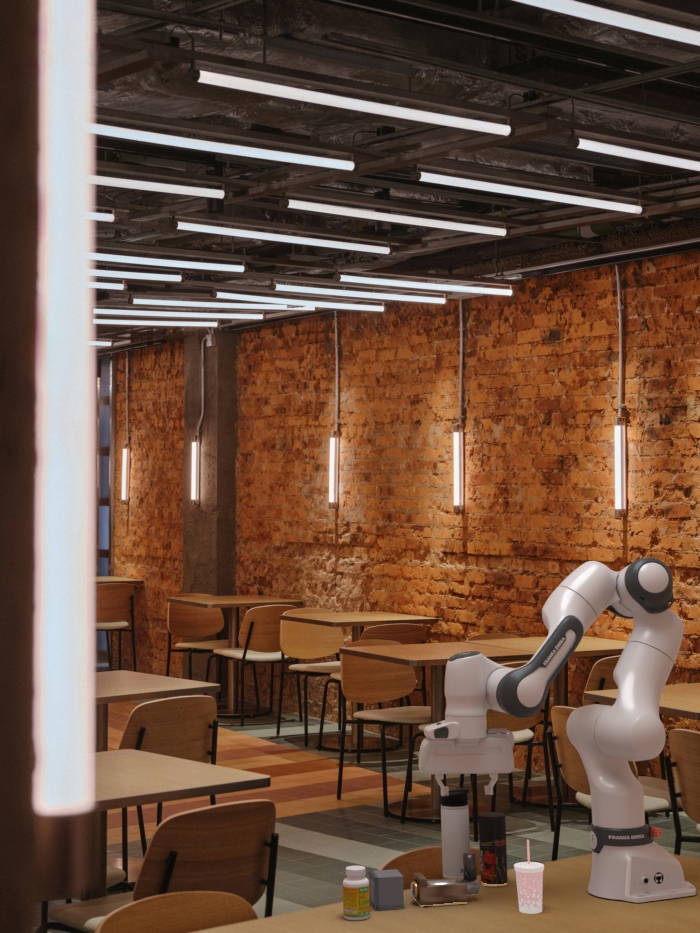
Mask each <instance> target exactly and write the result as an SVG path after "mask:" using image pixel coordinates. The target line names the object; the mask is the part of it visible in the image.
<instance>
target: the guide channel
mask: <svg viewBox="0 0 700 933" xmlns="http://www.w3.org/2000/svg"><path fill="white" fill-rule="evenodd" d="M412 874H413V882H419V898H415V899H416V901H417V902H418V903H419V904H420V905H433V904H444V903H453V902H468V903H469V901H468V897H469V896H468V894H467V884H466V883H461V884H446V885H431V886H427V881H436V880H452V879H461V878H444V879H443V878H431V879H427V878H426V877H425V876H424V874H423V873H421V872H420V871H419V872H412ZM416 901H415V902H416Z"/></svg>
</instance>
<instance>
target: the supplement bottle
mask: <svg viewBox="0 0 700 933" xmlns="http://www.w3.org/2000/svg"><path fill="white" fill-rule="evenodd" d="M366 873H367V871H366V867H365V866H363V865H349V866H346V867H345V876H346V877H345V878H344V879H343V881H342V903H343V904H342V909H343V911H342V912H343V918H344V919H345V920H347V921H365V920H367V919H369V918H370V916H371V904H370V888H369V878H367V877H366Z"/></svg>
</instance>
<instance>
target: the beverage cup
mask: <svg viewBox="0 0 700 933" xmlns="http://www.w3.org/2000/svg"><path fill="white" fill-rule="evenodd" d="M526 849H527V850H526V851H527V852H526V853H527V861H521V862H520V861H519V862H516V863H514V864H513V869H514V871H515V880H516V882H515V883H516V889H517V902H518V911H519V912H520V913H523V914H528V915H530V914H531V915H532V914H535V915H536V914H540V913H542V912H543V891H544V890H543V886H544V885H543V884H544V882H543V881H544V880H543V878H544V876H543V875H544V870H545V865H544V863H541V862H536V861H531V857H530V856H531V855H530V854H531V852H530V839H526Z"/></svg>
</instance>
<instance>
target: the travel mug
mask: <svg viewBox="0 0 700 933" xmlns="http://www.w3.org/2000/svg"><path fill="white" fill-rule="evenodd" d="M448 793H449V796H441V795H440V824H441V825H440V826H441V854H442V856H441V857H442V859H441V860H442V879H444V878H461V879H464V876H463V853H471V844H470V842H471V841H470V840H471V839H470V838H471V837H470V815H469V814H470V813H469V811H470V810H469V801H468V800H469V797H468V794H470V788H465V789H454V790H449V791H448Z"/></svg>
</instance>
